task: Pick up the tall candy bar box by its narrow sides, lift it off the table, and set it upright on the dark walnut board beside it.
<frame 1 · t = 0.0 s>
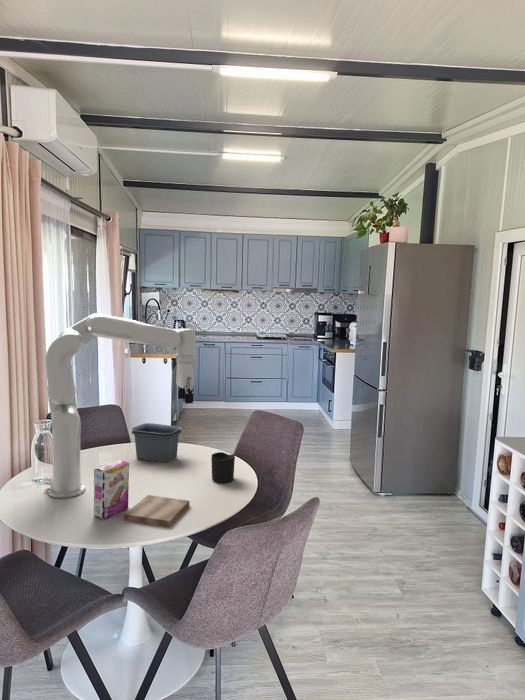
hand: (185, 400, 189), 31 cm above the table, tool pointing down, fingers open, 9 cm apart
storage bin: (157, 458, 213), on the table
candy bar box: (111, 512, 157), on the table
pen holder: (222, 480, 188), on the table
walnut board: (157, 512, 157), on the table
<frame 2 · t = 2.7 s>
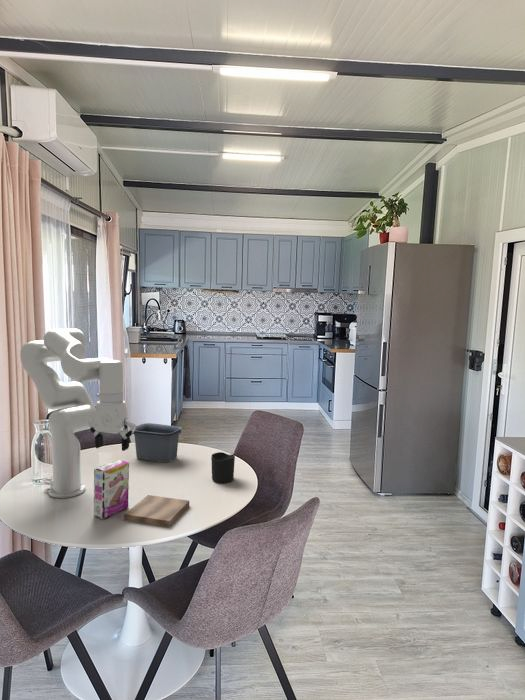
hand: (112, 448, 154), 22 cm above the table, tool pointing down, fingers open, 9 cm apart
nothing on the table moved.
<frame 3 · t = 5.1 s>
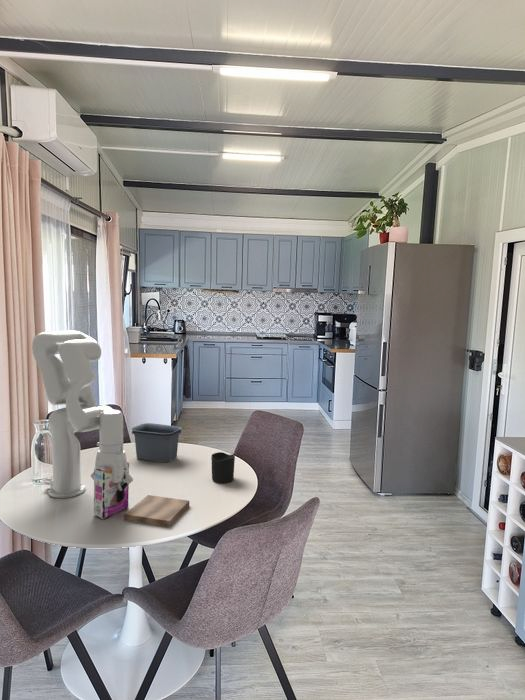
hand: (111, 498, 156), 5 cm above the table, tool pointing down, fingers closed on candy bar box, 5 cm apart
candy bar box: (112, 512, 157), on the table, touching gripper
everything else where it was.
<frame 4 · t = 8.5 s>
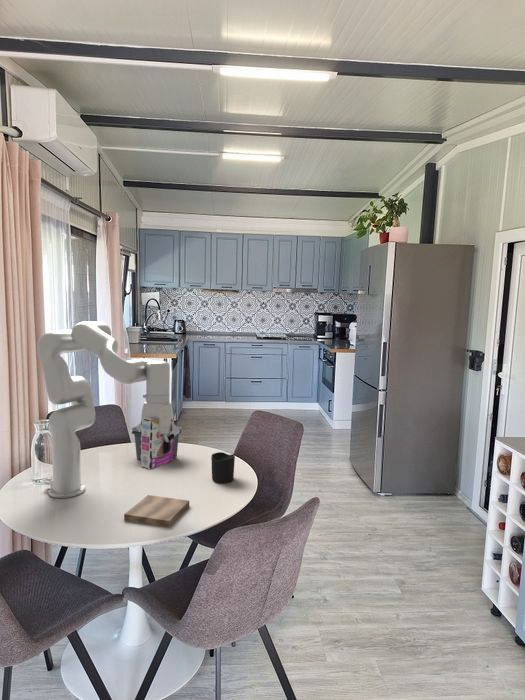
hand: (157, 451, 155), 21 cm above the table, tool pointing down, fingers closed on candy bar box, 5 cm apart
candy bar box: (157, 465, 155), point 17 cm above the table, touching gripper
everything else where it was.
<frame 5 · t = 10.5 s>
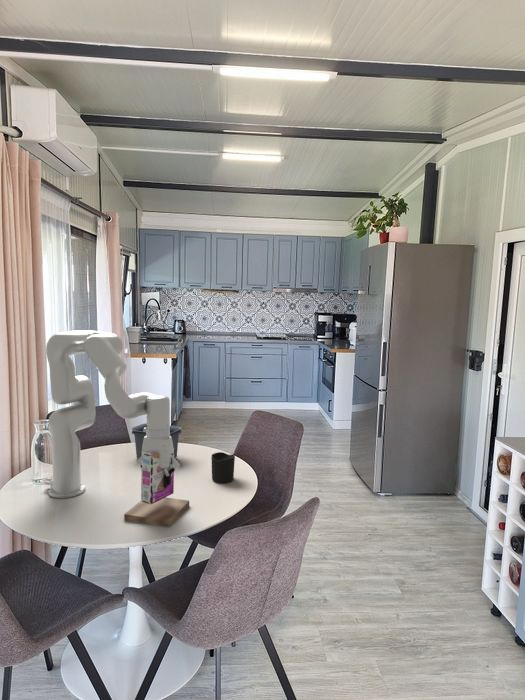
hand: (158, 484, 156), 10 cm above the table, tool pointing down, fingers closed on candy bar box, 5 cm apart
candy bar box: (158, 498, 156), point 5 cm above the table, touching gripper
everything else where it was.
when the fingers open (7 cm above the table, at t = 11.9 s): candy bar box stays where it is, resting on walnut board.
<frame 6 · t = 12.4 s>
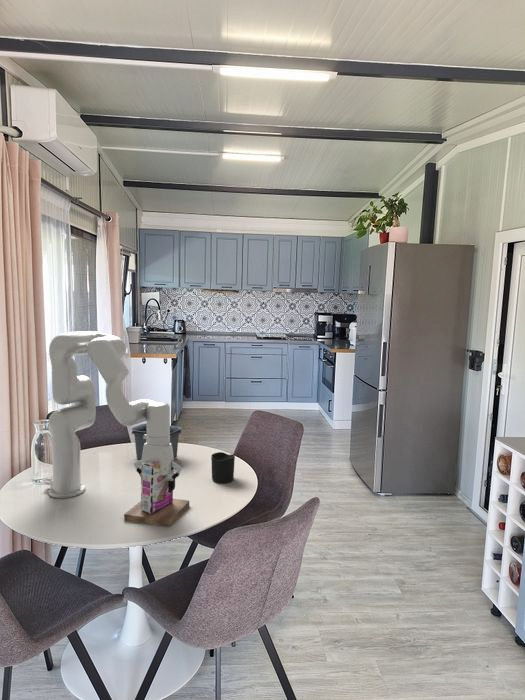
hand: (158, 489, 156), 8 cm above the table, tool pointing down, fingers open, 9 cm apart
candy bar box: (157, 507, 157), point 2 cm above the table, touching walnut board
everything else where it was.
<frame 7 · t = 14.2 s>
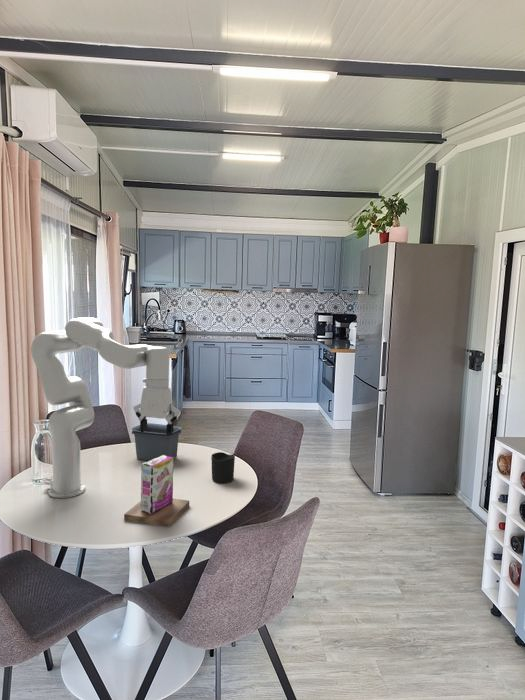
hand: (156, 432, 158), 27 cm above the table, tool pointing down, fingers open, 9 cm apart
nothing on the table moved.
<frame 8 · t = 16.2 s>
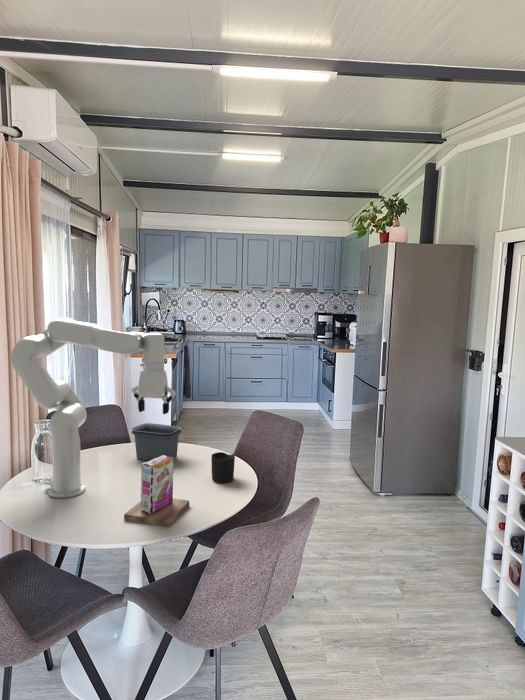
hand: (153, 412, 172), 30 cm above the table, tool pointing down, fingers open, 9 cm apart
nothing on the table moved.
at the end: candy bar box inside the target area on the walnut board (0.1 cm from its centre), point 1.8 cm above the walnut board's base; candy bar box tilted 0°; the gripper is holding nothing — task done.
